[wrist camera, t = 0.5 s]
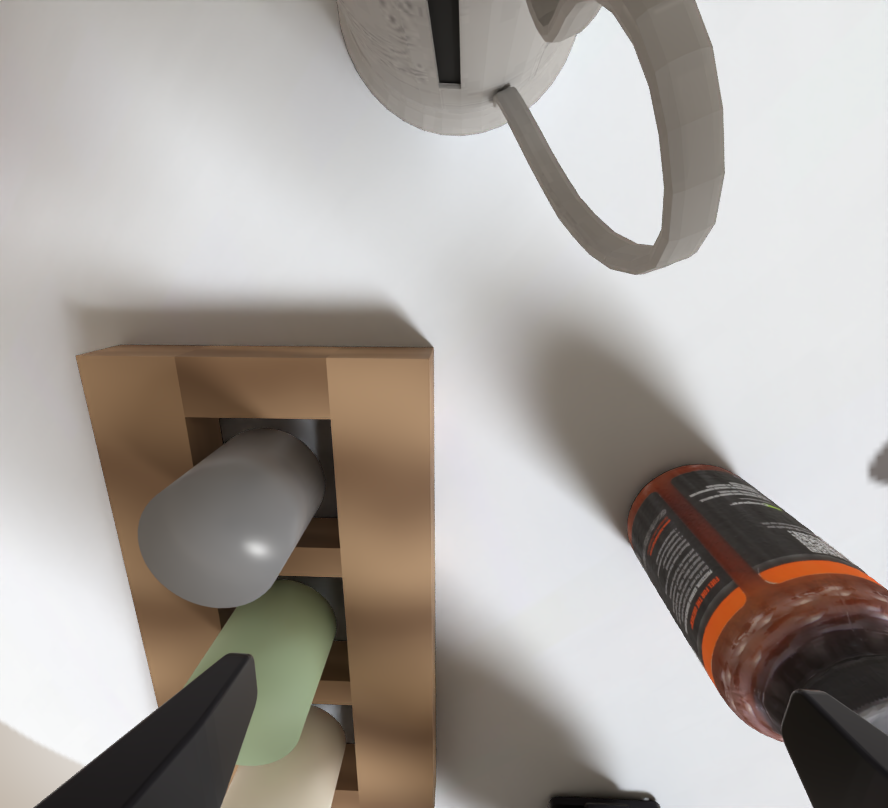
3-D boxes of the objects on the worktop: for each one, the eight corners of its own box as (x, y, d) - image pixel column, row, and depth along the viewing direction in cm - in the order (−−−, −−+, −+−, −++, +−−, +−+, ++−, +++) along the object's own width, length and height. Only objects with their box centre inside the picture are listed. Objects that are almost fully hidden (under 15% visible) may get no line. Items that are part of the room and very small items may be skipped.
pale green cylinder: (339, 662, 23) (306, 768, 18) (244, 659, 23) (187, 763, 18) (333, 580, 21) (295, 672, 17) (231, 578, 22) (165, 667, 17)
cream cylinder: (348, 772, 25) (321, 892, 20) (261, 768, 25) (214, 886, 20) (343, 704, 24) (312, 816, 19) (251, 700, 24) (197, 810, 19)
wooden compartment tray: (435, 778, 28) (433, 827, 25) (207, 767, 28) (183, 814, 26) (433, 347, 20) (429, 359, 18) (120, 344, 21) (75, 355, 18)
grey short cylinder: (328, 530, 21) (288, 610, 16) (223, 527, 21) (151, 605, 16) (320, 428, 19) (273, 483, 14) (207, 427, 19) (124, 480, 15)
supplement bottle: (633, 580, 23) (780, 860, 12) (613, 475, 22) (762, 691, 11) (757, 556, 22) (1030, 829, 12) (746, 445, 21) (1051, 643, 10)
